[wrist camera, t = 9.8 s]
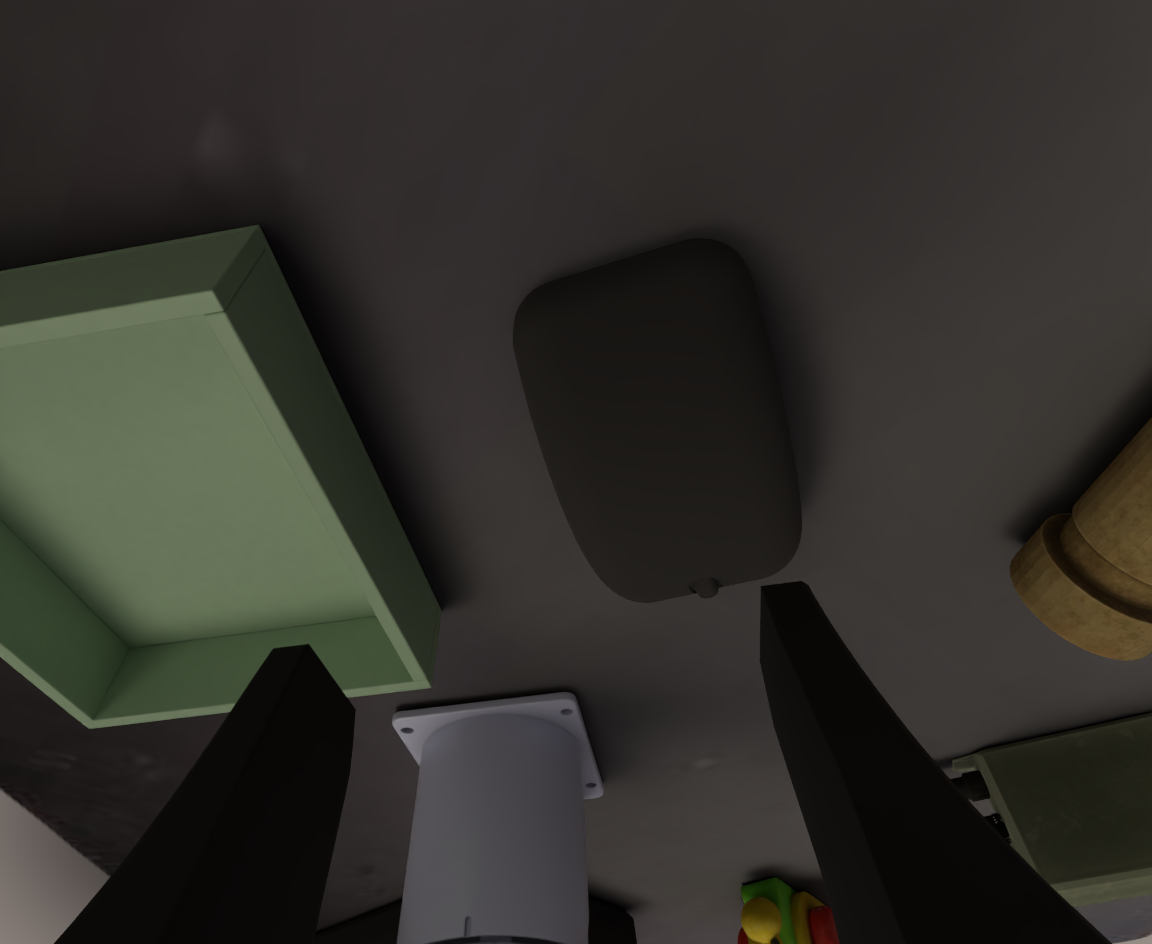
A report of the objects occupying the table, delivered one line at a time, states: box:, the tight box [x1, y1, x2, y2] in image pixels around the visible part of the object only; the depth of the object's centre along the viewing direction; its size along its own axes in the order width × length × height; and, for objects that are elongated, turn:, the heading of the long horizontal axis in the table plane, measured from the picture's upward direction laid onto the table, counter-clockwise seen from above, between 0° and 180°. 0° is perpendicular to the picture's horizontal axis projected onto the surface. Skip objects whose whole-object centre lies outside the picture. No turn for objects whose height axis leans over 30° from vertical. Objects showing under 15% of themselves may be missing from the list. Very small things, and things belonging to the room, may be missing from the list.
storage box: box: [0, 225, 442, 729], centre depth 21 cm, size 15×12×3 cm
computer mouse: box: [513, 239, 802, 603], centre depth 20 cm, size 6×11×4 cm, turn 18°
